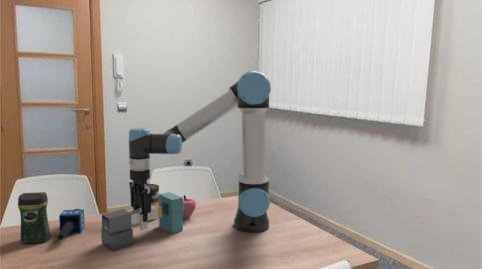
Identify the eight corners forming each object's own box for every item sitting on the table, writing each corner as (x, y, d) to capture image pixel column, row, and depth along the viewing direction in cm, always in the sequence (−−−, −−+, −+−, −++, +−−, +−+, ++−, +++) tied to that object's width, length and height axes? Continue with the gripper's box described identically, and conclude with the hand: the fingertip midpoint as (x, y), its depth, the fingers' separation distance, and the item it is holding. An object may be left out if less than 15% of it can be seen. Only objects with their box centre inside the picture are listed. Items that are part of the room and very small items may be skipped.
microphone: (48, 227, 131) (68, 204, 156) (49, 247, 132) (69, 222, 157) (71, 226, 133) (87, 204, 157) (72, 246, 134) (88, 221, 158)
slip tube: (161, 216, 145) (161, 207, 145) (108, 231, 130) (107, 220, 130) (156, 214, 148) (156, 204, 148) (103, 228, 133) (102, 217, 133)
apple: (170, 218, 162) (170, 196, 161) (183, 212, 170) (183, 192, 168) (187, 223, 158) (187, 200, 156) (199, 217, 165) (199, 195, 163)
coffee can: (163, 214, 168) (162, 184, 166) (153, 222, 158) (153, 190, 156) (142, 212, 170) (142, 182, 168) (131, 220, 160) (130, 188, 158)
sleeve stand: (133, 244, 136) (132, 213, 134) (111, 251, 130) (110, 219, 128) (123, 238, 141) (122, 208, 140) (101, 244, 135) (100, 213, 134)
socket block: (182, 230, 150) (182, 197, 148) (172, 233, 146) (172, 200, 144) (169, 223, 157) (169, 191, 155) (159, 226, 153) (158, 194, 151)
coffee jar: (52, 235, 143) (50, 189, 140) (45, 243, 135) (43, 195, 133) (26, 236, 141) (22, 190, 139) (17, 245, 133) (13, 196, 131)
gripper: (120, 166, 142) (122, 223, 145) (142, 174, 130) (143, 236, 133) (137, 163, 147) (139, 218, 150) (160, 171, 135) (161, 231, 138)
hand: (141, 227), depth 142 cm, fingers closed on slip tube, 4 cm apart
